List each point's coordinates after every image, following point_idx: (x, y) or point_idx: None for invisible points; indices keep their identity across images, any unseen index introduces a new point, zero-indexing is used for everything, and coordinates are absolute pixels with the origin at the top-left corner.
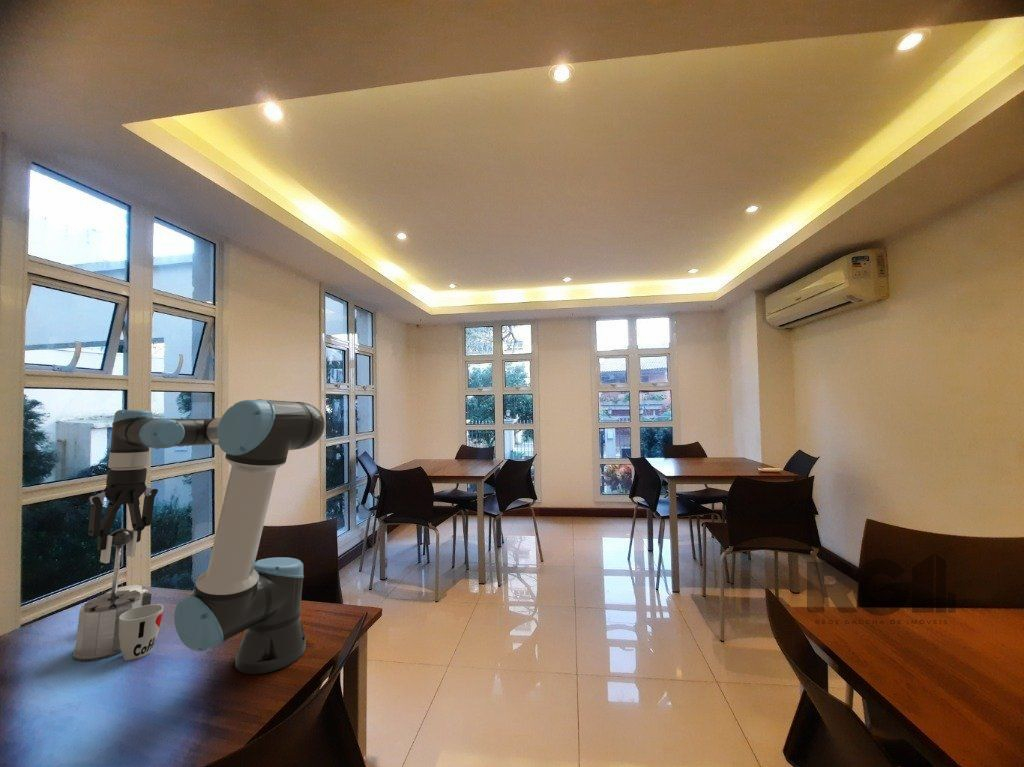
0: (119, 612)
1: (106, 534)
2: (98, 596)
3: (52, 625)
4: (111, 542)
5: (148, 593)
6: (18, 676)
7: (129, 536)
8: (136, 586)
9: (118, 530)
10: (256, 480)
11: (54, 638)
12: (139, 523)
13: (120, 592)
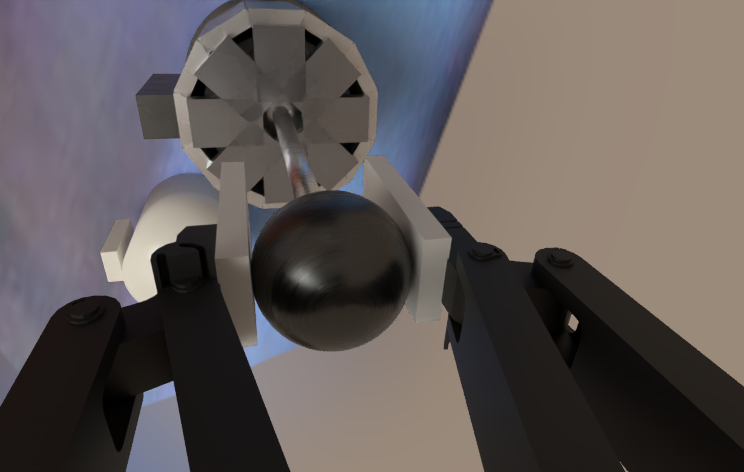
0: (293, 8)
1: (479, 252)
2: None
3: None
4: (408, 212)
5: (142, 114)
6: (434, 116)
7: (292, 215)
8: (137, 281)
9: (376, 297)
10: None
11: None
12: (195, 317)
13: None
